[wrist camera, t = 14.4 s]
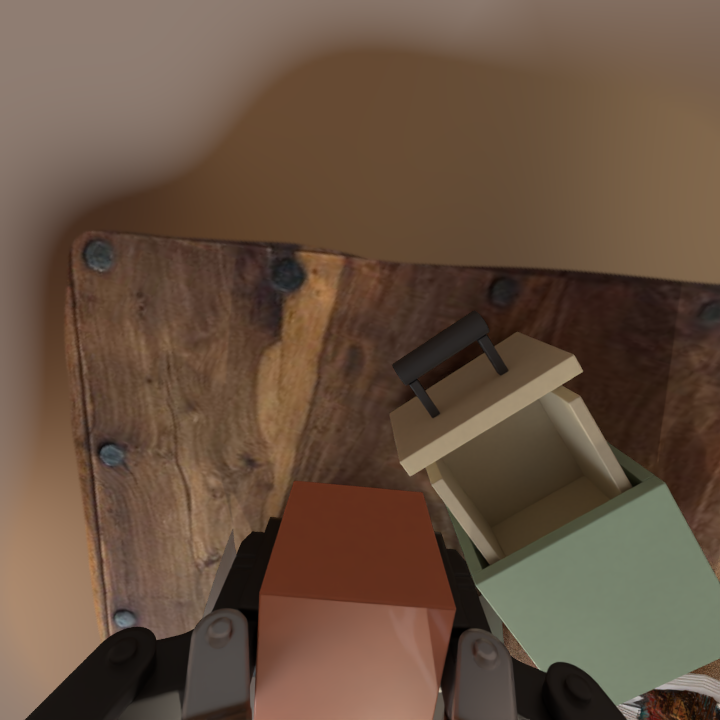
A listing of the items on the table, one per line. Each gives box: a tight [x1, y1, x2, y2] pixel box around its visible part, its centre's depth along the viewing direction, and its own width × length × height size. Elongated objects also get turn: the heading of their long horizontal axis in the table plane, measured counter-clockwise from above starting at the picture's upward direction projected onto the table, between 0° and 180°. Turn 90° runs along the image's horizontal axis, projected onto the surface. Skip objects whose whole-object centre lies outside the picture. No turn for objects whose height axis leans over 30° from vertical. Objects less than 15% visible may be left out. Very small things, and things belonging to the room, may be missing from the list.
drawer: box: [389, 311, 633, 565], centre depth 25 cm, size 18×11×7 cm, turn 35°
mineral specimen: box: [617, 673, 720, 720], centre depth 33 cm, size 12×12×7 cm
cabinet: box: [445, 442, 720, 706], centre depth 27 cm, size 15×13×9 cm
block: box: [253, 481, 456, 720], centre depth 11 cm, size 4×4×4 cm
